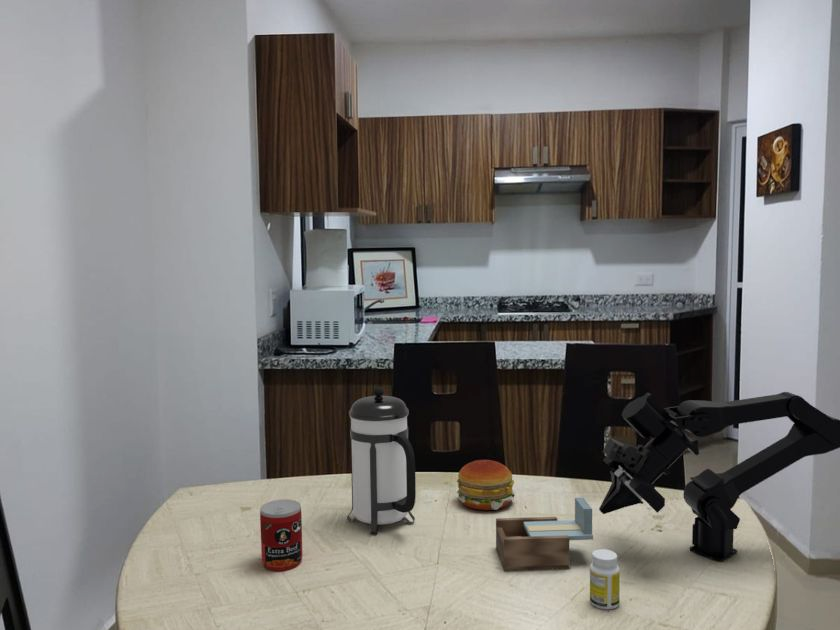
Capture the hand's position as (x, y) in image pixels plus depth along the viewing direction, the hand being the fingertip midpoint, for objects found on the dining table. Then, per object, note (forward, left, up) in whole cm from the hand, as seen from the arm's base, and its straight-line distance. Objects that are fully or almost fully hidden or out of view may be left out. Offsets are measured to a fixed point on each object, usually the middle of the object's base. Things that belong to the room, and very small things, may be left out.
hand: (601, 511), depth 131 cm
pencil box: (+8, +11, -9) cm, 16 cm away
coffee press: (+39, +23, -9) cm, 46 cm away
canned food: (+36, +49, -9) cm, 62 cm away
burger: (+34, -2, -9) cm, 36 cm away
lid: (+5, +7, -4) cm, 9 cm away
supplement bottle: (-12, +14, -9) cm, 20 cm away
